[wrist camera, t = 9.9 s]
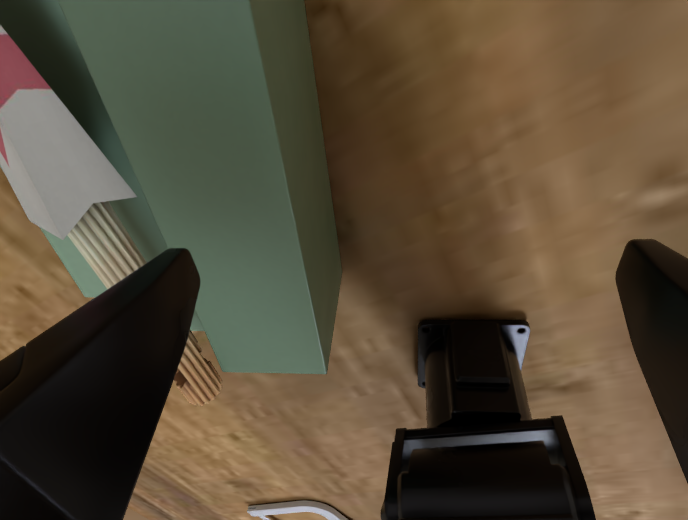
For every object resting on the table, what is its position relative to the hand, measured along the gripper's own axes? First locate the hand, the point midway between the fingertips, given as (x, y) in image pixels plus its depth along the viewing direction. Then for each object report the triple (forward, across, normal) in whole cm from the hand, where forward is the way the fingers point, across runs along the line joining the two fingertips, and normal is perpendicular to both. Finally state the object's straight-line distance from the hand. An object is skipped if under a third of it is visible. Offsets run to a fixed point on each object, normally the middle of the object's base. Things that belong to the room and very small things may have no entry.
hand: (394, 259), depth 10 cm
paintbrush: (+6, +10, +2) cm, 12 cm away
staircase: (+12, +11, +2) cm, 16 cm away
